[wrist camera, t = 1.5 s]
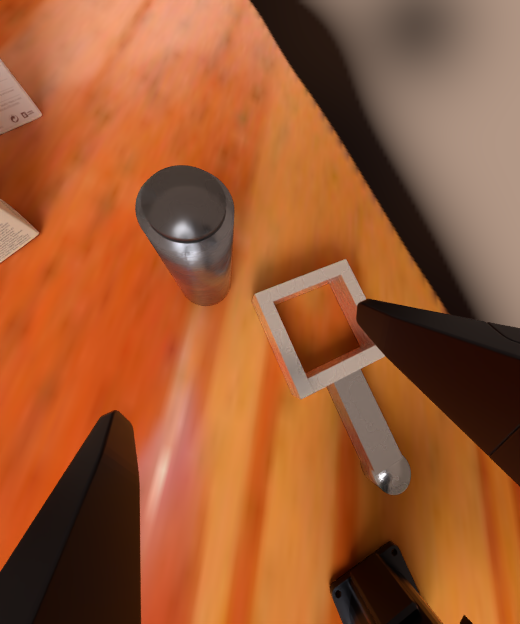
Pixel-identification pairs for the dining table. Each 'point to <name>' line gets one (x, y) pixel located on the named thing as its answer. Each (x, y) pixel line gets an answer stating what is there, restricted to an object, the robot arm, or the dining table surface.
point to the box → (13, 231)
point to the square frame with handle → (339, 374)
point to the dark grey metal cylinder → (190, 229)
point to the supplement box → (14, 102)
